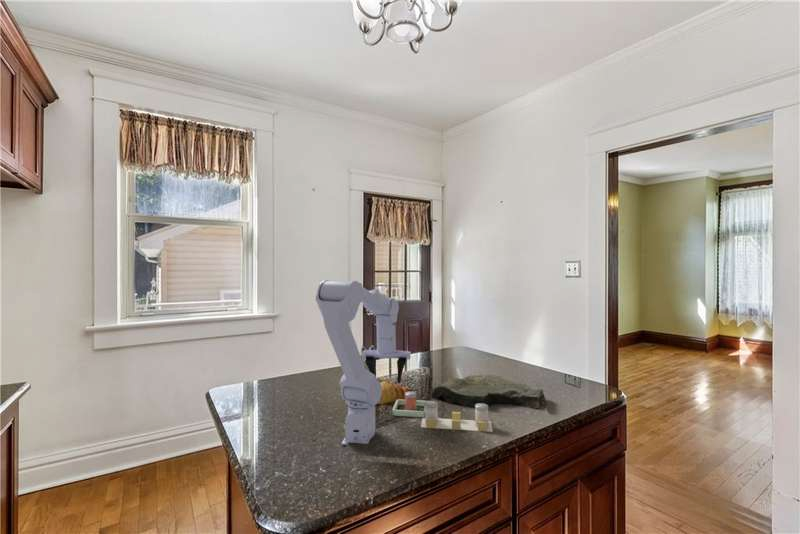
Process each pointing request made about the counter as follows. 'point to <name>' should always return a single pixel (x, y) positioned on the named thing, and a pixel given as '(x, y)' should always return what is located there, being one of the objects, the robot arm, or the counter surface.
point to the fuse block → (457, 423)
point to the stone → (489, 392)
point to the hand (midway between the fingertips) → (386, 381)
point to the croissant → (392, 392)
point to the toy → (365, 358)
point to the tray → (408, 412)
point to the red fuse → (410, 401)
